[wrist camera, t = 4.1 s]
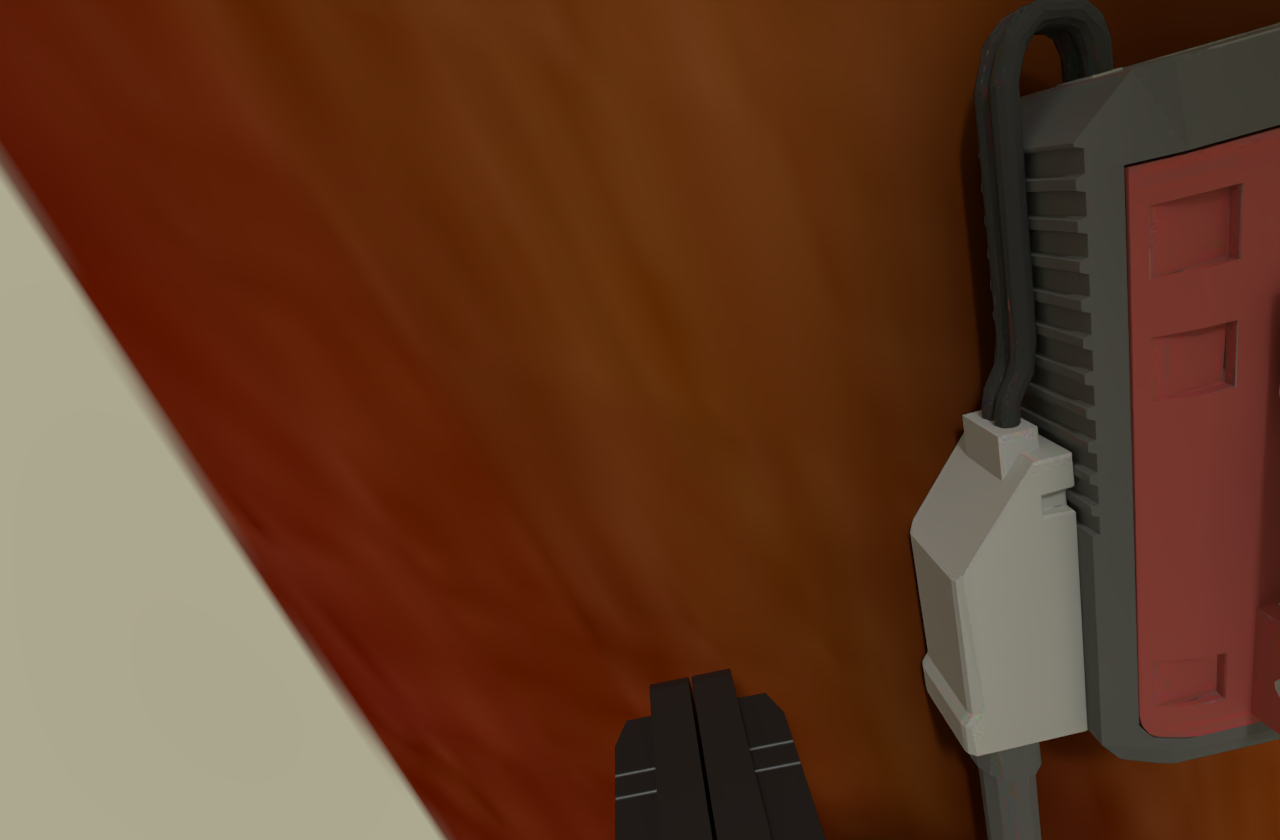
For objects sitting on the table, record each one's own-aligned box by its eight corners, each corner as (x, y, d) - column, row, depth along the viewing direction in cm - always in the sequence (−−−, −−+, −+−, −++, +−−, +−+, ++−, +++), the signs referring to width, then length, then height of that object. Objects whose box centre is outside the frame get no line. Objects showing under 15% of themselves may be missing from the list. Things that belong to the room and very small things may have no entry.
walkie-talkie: (817, 73, 10) (954, 917, 17) (958, -13, 6) (1068, 1157, 12) (1385, -94, 10) (1302, 838, 16) (1961, -313, 6) (1541, 1060, 12)
